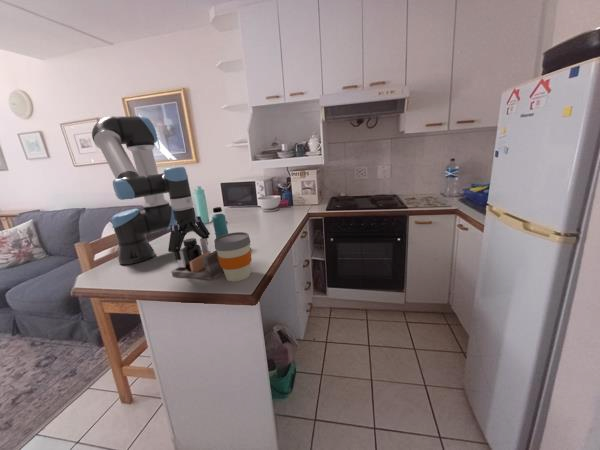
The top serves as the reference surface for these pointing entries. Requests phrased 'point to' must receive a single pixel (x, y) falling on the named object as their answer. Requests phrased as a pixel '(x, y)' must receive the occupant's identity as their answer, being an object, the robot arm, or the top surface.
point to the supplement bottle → (190, 251)
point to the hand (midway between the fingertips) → (194, 259)
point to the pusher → (198, 262)
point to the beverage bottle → (219, 222)
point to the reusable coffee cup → (234, 255)
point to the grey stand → (208, 272)
